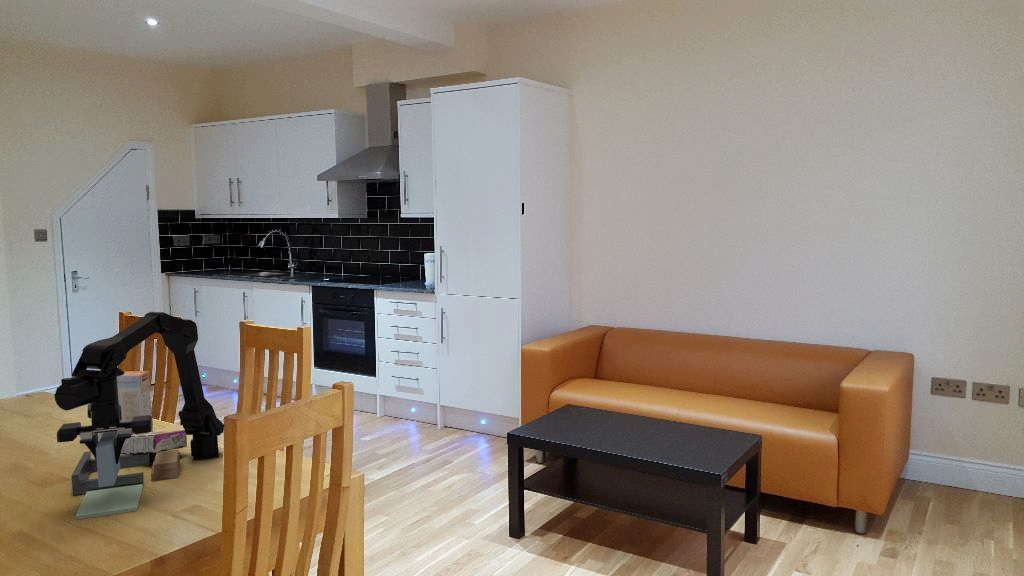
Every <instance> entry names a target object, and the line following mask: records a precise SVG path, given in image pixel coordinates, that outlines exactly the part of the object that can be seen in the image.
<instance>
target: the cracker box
mask: <svg viewBox="0 0 1024 576" xmlns="http://www.w3.org/2000/svg"><path fill="white" fill-rule="evenodd" d="M124 372H125V374H124V375H121V376H118V377H117V383H118V398H119V405H120V406H121V412H122V420H121V421H120V422H128V421H132V420H133V417H135V416H145V415H150V416H151V417H152V418H153V416H152V415H153V414H152V413H153V412H152V401H151V400H152V398H151V397H152V396H151V384H150V371H149V370H140V371H139V370H132V371H128V370H127V371H126V370H125V371H124ZM109 428H114V427H109ZM100 429H103V428H100ZM153 429H154V428H153V427H152V430H151V432H154V431H153ZM113 432H114V431H113ZM132 434H135V433H134V432H133V433H132ZM102 435H103V433H98V442H99V441H100V439H101V437H102Z"/></svg>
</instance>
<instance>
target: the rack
mask: <svg viewBox="0 0 1024 576" xmlns="http://www.w3.org/2000/svg"><path fill="white" fill-rule="evenodd" d="M150 462H151V461H150V453H138V454H121V455H120V469H127V468H135V467H142V466H149V465H150ZM94 472H97V461H96V459H95V458H92V452H91V451H90V450H89V451H83V453H82V455H81V457H80V459H79V461H78V463H77V464H76V466H75V468H74V470H73V472H72V474H71V475H70V476H71V487H72V488H71V489H72V496H73V497H75V496H80V495H85V494H86V492H87V491H94V490H102V489H109V488H117V487H124V486H132V485H139V484H143V487H144V486H145V478H144V477H145V476H144V472H142V471H141V472H136V473H135V472H134V473H127V474H118V475H117V478H116V481H115V484H114V485H113V486H105V487H99V485H98V477H96V478H90V476H91V473H94Z"/></svg>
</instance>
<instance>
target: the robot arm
mask: <svg viewBox="0 0 1024 576" xmlns="http://www.w3.org/2000/svg"><path fill="white" fill-rule="evenodd" d="M155 333H156V334H159V335H160V336H161V338H162V339H163V344H164V345H165V346H166V347H167V348H168V350H170V352H171V353H172V354H173V357H174V360H175V361H174V362H175V365H176V370H177V375H178V379H179V384H180V387H181V391H182V396H183V400H184V404H183V407H182V408H181V410H179V411H178V414H177V415H178V417H179V425H180V426H182V428H183V430H185V432H186V436H192V438H191V439H190V442H189V443H190V457H192V460H193V461H199V460H206V459H214V458H219V457H220V449H219V438H218V437H219V436H221V435H222V434H223V433H224V430H225V423H223V422H222V421H221V420H220V419H219V418H218V417H217V414H216V412H215V410H214V407H213V405H212V404H211V403H210V402H209V400H207V399H206V397H205V393H204V388H203V384H202V380H201V375H200V370H199V366H198V362H197V356H196V353H195V349H196V346H197V344H198V342H199V332H198V326H197V323H196V322H195V321H193V320H192V319H187V318H186V319H185V318H180V317H176V316H173V315H171V314H169V313H166V312H164V311H150V312H149V311H148V312H147V313H145V314H144V316H143V317H141V318H140V319H138V320H137V321H135V322H133V323H132V324H131V325H128V326H127V327H126V328H124V329H123V330H121V331H120V332H118V333H116V334H115V335H113V336H111V337H108V338H103V339H99V340H96V341H94V342H90V343H89V344H86V345H85V346H84V348H83V349H82V352H81V354H80V356H79V359H78V361H77V363H76V365H75V367H74V369H73V371H72V373H71V377H65V378H62V379H61V381H60V383H61V384H60V385H59V386H58V387H57V388H56V390H55V393H54V401H55V403H56V405H57V406H58V407H59V408H60V409H61V410H62V411H66V412H68V411H71V410H75V409H76V408H81V407H83V406H86V405H87V418H88V419H90V420H91V425H83V426H82V423H81V422H79V421H78V422H69V423H63V424H62V425H61V426H60V427H59V428H58V430H57V432H56V443H68V442H69V443H70V442H74V441H75V440H76V439H77V438H78V436H79V438H80V439H79V444H81V445H82V444H84V445H85V447H86V448H87V449H88V450H89V451H91V455H92V456H93V458H94V459H96V461H97V458H96V447H97V445H98V443H99V442H98V433H104V432H113V431H118V435H117V437H116V454H115V460H116V464H118V462H119V458H120V455H122V454H121V451H122V447H123V444H124V442H125V440H126V439H128V438H131V436H132V433H133V432H134V433H135V434H141V433H149V432H151V430H152V427H153V426H154V423H153V422H154V421H153V416H152V417H151V416H150V415H145V416H135V417H133V420H132V421H128V422H120V421H121V420H122V412H121V406H120V405H119V398H118V383H117V377H118V376H121V375H124V374H125V372H124V371H123V370H121V369H120V368H119V366H120V365H121V364H122V362H124V361H125V360H126V359H127V355H128V353H129V352H130V351H131V350H132V349H134V348H135V347H137V346H138V345H140V344H141V343H143V342H144V341H146V340H147V339H148V338H151V337H152V336H153V335H154V334H155ZM109 427H114V428H109ZM100 428H103V429H100Z"/></svg>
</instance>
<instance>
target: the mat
mask: <svg viewBox="0 0 1024 576" xmlns="http://www.w3.org/2000/svg"><path fill="white" fill-rule="evenodd" d="M143 490H144V486H143V484H139V485H132V486H124V487H117V488H109V489H102V490H94V491H87V492H86V494H84V497H83V499H82V501H81V504H80V506H79V508H78V510H77V512H76V514H75V520H83V519H84V520H85V519H90V518H97V517H104V516H109V515H118V514H124V513H125V514H126V513H131V512H138V508H139V506H140V502H139V501H141V498H142V494H143ZM140 497H141V498H140Z"/></svg>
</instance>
